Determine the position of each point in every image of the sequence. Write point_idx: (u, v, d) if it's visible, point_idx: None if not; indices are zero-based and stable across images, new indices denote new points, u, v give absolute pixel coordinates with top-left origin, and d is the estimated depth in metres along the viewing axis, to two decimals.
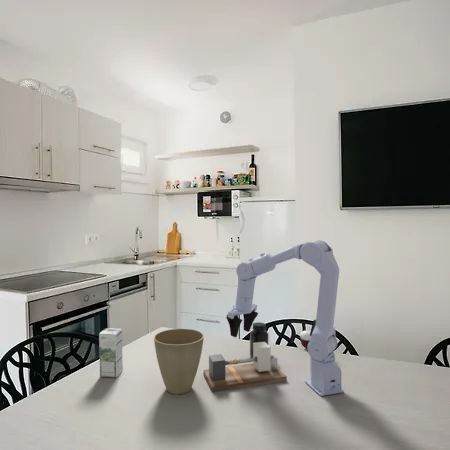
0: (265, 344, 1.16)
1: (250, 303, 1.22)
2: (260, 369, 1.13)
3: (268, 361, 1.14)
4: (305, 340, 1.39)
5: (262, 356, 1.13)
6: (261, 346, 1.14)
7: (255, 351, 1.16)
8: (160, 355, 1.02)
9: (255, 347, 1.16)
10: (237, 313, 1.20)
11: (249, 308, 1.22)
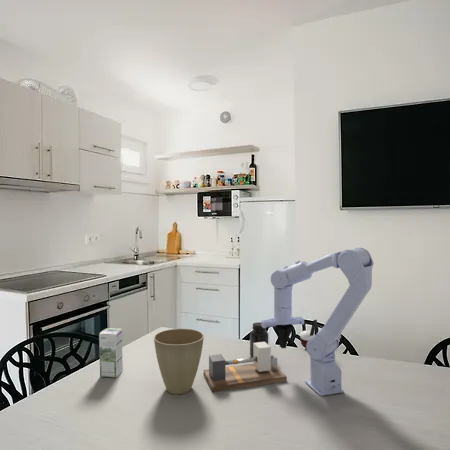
0: (265, 344, 1.16)
1: (286, 313, 1.15)
2: (260, 369, 1.13)
3: (268, 361, 1.14)
4: (305, 340, 1.39)
5: (262, 356, 1.13)
6: (261, 346, 1.14)
7: (255, 351, 1.16)
8: (160, 355, 1.02)
9: (255, 347, 1.16)
10: (270, 323, 1.15)
11: (285, 319, 1.15)
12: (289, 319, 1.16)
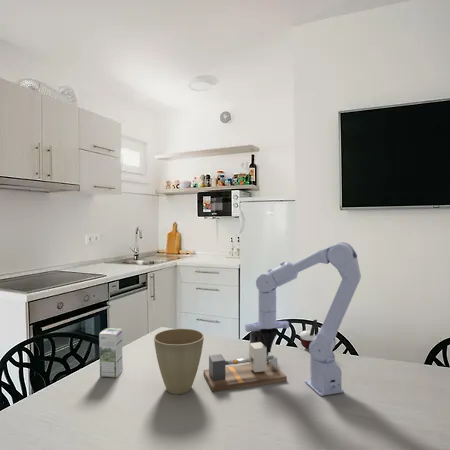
0: (261, 344, 1.16)
1: (270, 317, 1.13)
2: (256, 370, 1.13)
3: (264, 361, 1.14)
4: (305, 340, 1.39)
5: (258, 356, 1.13)
6: (257, 347, 1.14)
7: (251, 351, 1.15)
8: (160, 355, 1.02)
9: (251, 347, 1.15)
10: (253, 327, 1.14)
11: (269, 323, 1.13)
12: (273, 323, 1.14)
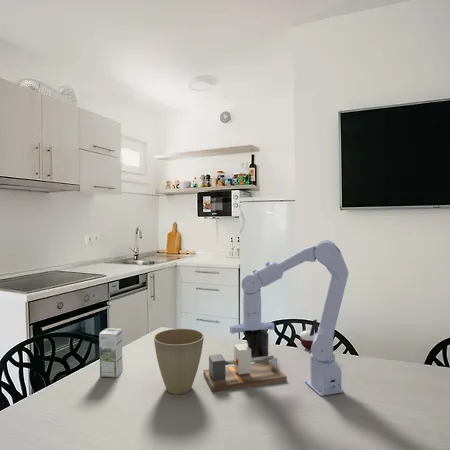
0: (246, 346, 1.14)
1: (254, 319, 1.12)
2: (240, 372, 1.11)
3: (249, 363, 1.12)
4: (305, 340, 1.39)
5: (242, 358, 1.12)
6: (242, 349, 1.12)
7: (236, 353, 1.14)
8: (160, 355, 1.02)
9: (236, 349, 1.14)
10: (238, 328, 1.12)
11: (254, 324, 1.12)
12: (258, 324, 1.13)
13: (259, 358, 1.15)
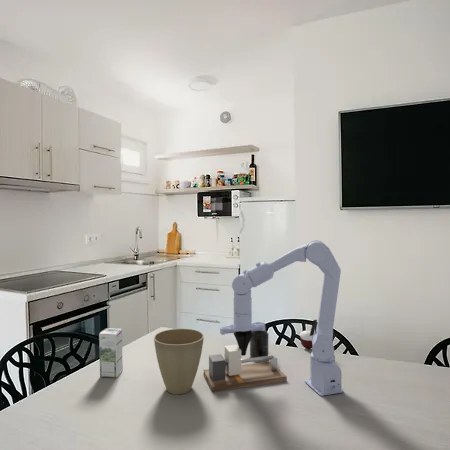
0: (236, 347, 1.14)
1: (245, 320, 1.11)
2: (230, 373, 1.11)
3: (239, 365, 1.11)
4: (305, 340, 1.39)
5: (232, 360, 1.11)
6: (232, 350, 1.11)
7: (226, 354, 1.13)
8: (160, 355, 1.02)
9: (226, 350, 1.13)
10: (228, 329, 1.11)
11: (244, 325, 1.11)
12: (248, 325, 1.12)
13: (259, 358, 1.15)
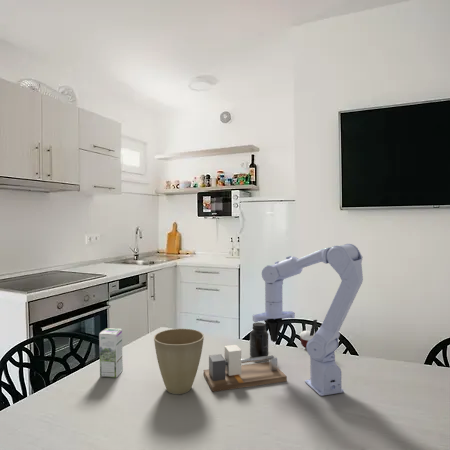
0: (236, 347, 1.14)
1: (276, 308, 1.17)
2: (230, 373, 1.11)
3: (239, 365, 1.11)
4: (305, 340, 1.39)
5: (232, 360, 1.11)
6: (232, 350, 1.11)
7: (226, 354, 1.13)
8: (160, 355, 1.02)
9: (226, 350, 1.13)
10: (261, 317, 1.17)
11: (276, 313, 1.17)
12: (280, 313, 1.18)
13: (259, 358, 1.15)
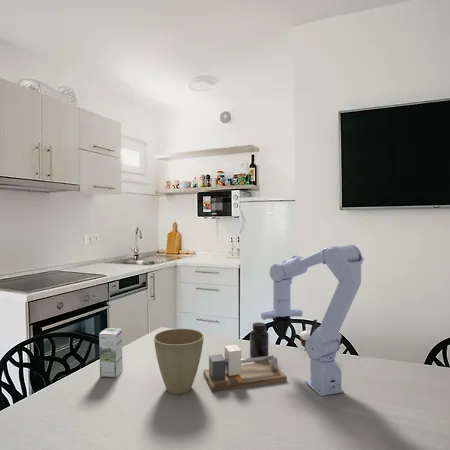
0: (236, 347, 1.14)
1: (284, 306, 1.19)
2: (230, 373, 1.11)
3: (239, 365, 1.11)
4: (305, 340, 1.39)
5: (232, 360, 1.11)
6: (232, 350, 1.11)
7: (226, 354, 1.13)
8: (160, 355, 1.02)
9: (226, 350, 1.13)
10: (269, 314, 1.19)
11: (284, 311, 1.19)
12: (288, 311, 1.20)
13: (259, 358, 1.15)
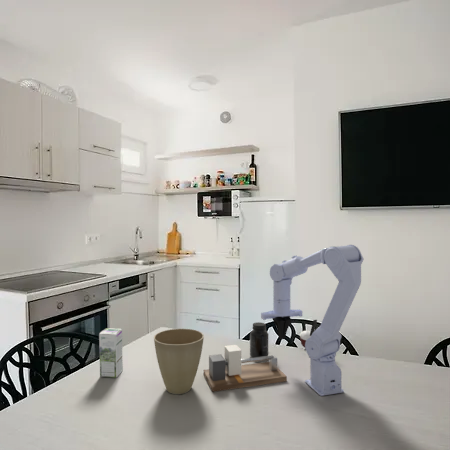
0: (236, 347, 1.14)
1: (284, 306, 1.19)
2: (230, 373, 1.11)
3: (239, 365, 1.11)
4: (305, 340, 1.39)
5: (232, 360, 1.11)
6: (232, 350, 1.11)
7: (226, 354, 1.13)
8: (160, 355, 1.02)
9: (226, 350, 1.13)
10: (269, 314, 1.19)
11: (284, 311, 1.19)
12: (288, 311, 1.20)
13: (259, 358, 1.15)
